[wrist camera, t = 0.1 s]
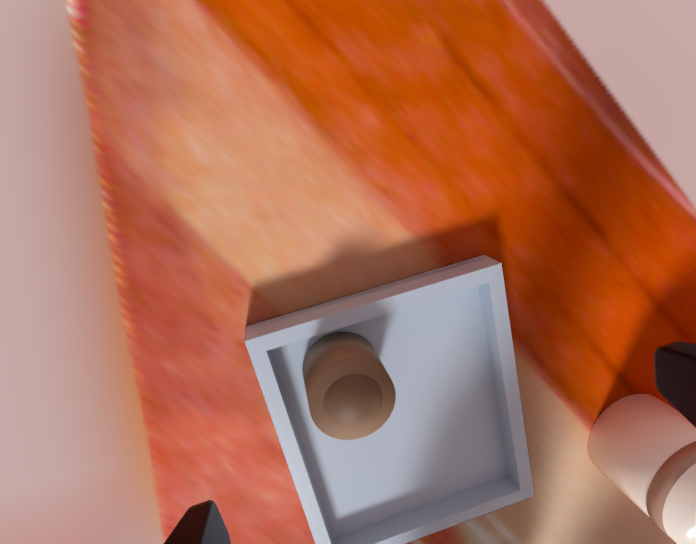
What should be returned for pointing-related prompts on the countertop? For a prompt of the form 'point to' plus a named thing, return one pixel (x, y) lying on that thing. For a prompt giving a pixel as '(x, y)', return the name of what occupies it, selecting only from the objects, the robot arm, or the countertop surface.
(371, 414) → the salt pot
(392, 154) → the countertop surface
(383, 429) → the tray
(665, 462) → the cream lidded jar
